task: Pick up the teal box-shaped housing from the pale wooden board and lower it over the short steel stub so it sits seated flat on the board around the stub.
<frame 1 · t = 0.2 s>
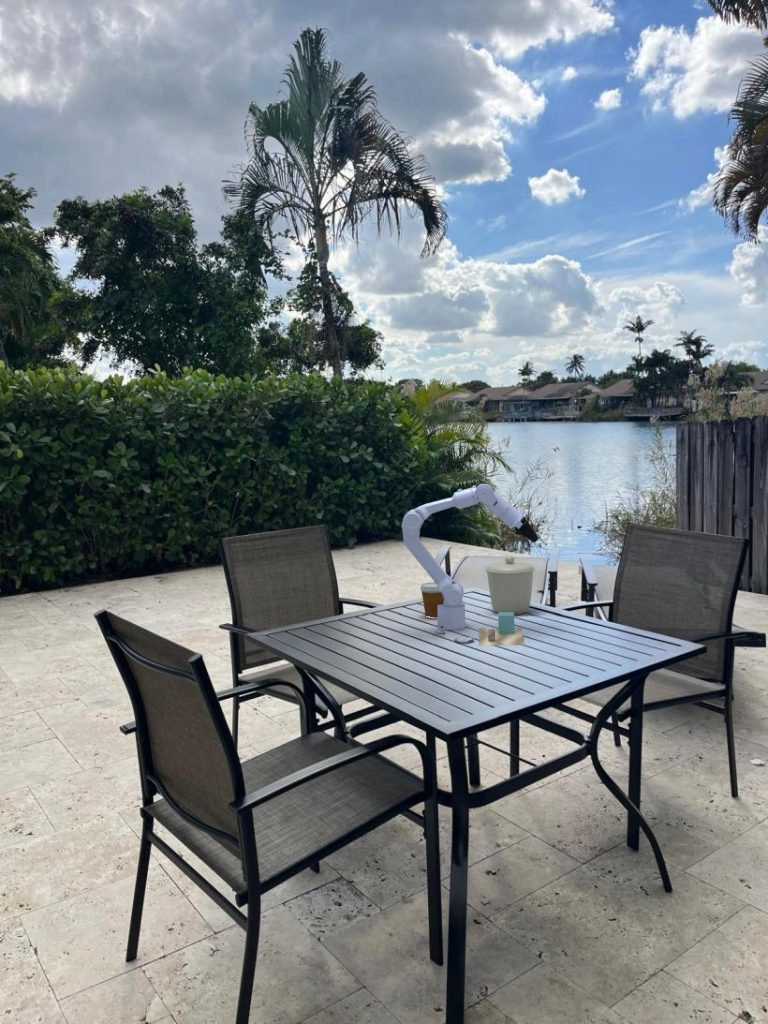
hand: (536, 539, 239), 31 cm above the table, tool tilted 45°, fingers open, 7 cm apart
canister: (511, 612, 269), on the table
housing: (506, 632, 237), point 1 cm above the table, touching base board
disposable coffee cup: (434, 617, 266), on the table
base board: (501, 639, 233), on the table
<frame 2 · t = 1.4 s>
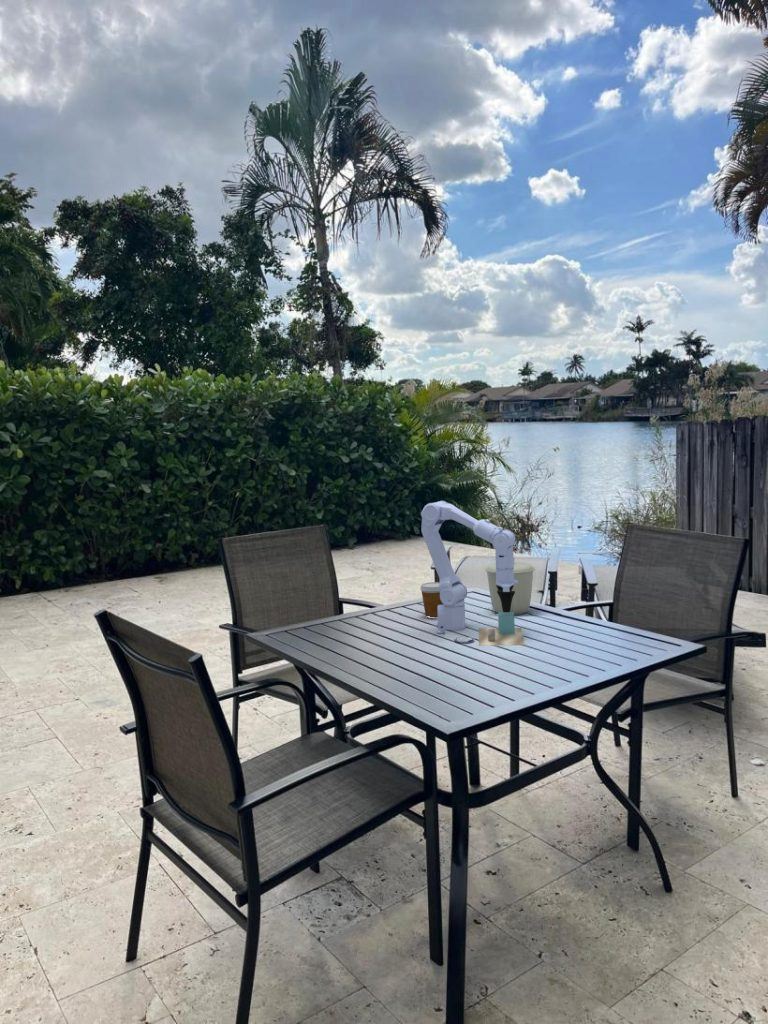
hand: (506, 609, 236), 9 cm above the table, tool pointing down, fingers open, 7 cm apart
nothing on the table moved.
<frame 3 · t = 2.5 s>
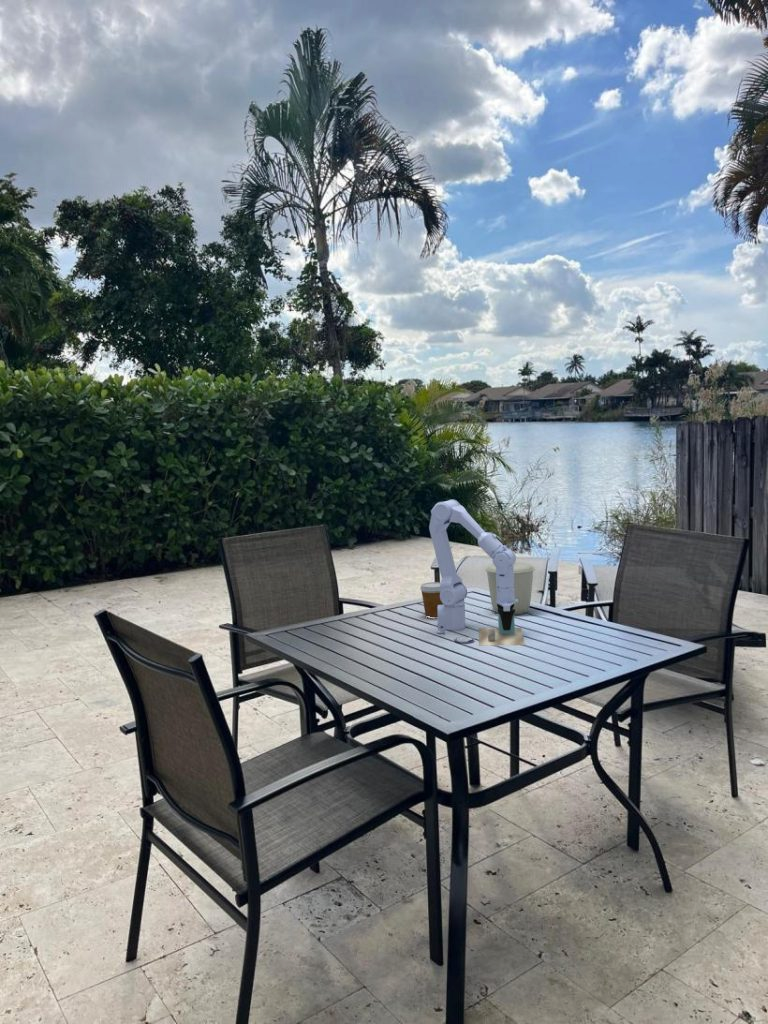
hand: (506, 627, 237), 3 cm above the table, tool pointing down, fingers closed on housing, 5 cm apart
housing: (506, 632, 237), point 1 cm above the table, touching base board, gripper
everything else where it was.
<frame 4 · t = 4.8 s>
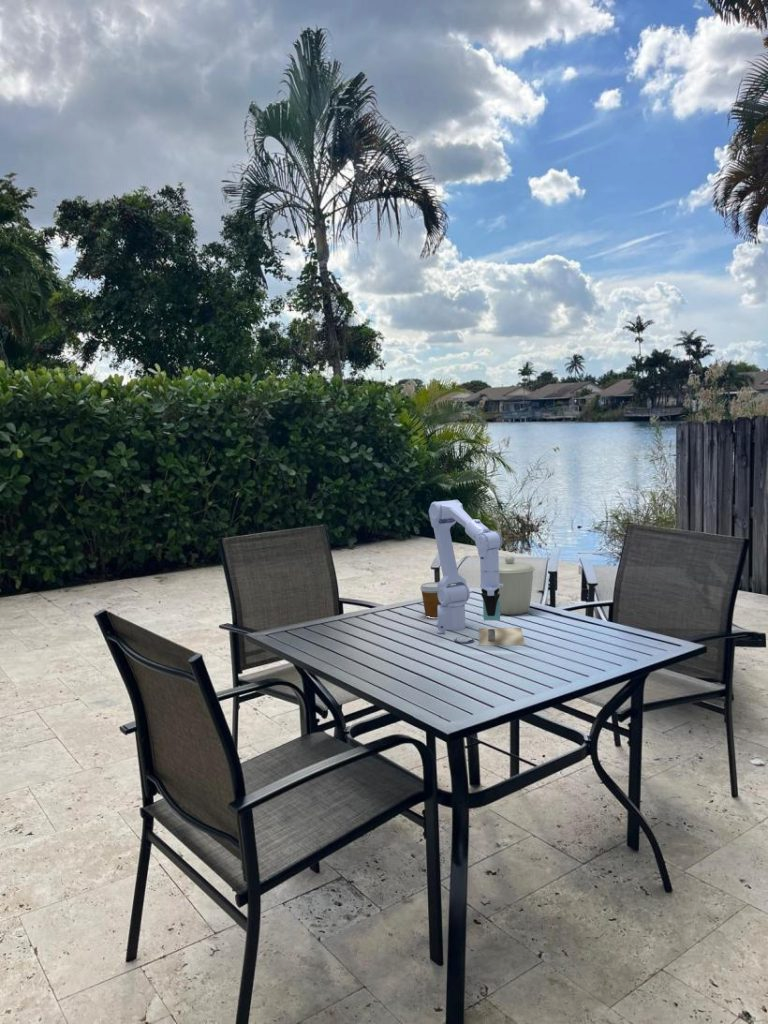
hand: (490, 613, 227), 10 cm above the table, tool pointing down, fingers closed on housing, 5 cm apart
housing: (491, 618, 227), point 8 cm above the table, touching gripper
everything else where it was.
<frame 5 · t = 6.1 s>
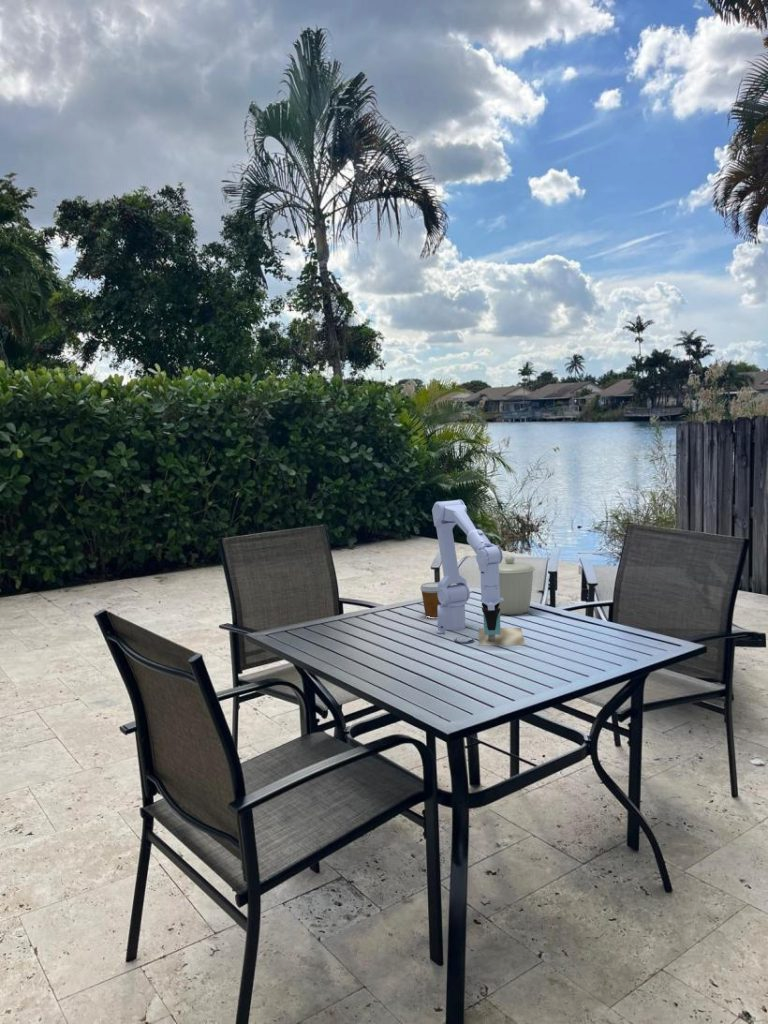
hand: (491, 627, 228), 5 cm above the table, tool pointing down, fingers closed on housing, 5 cm apart
housing: (492, 632, 228), point 4 cm above the table, touching gripper
everything else where it was.
when the fingers open (3 cm above the table, at t = 7.0 s): housing stays where it is, resting on base board.
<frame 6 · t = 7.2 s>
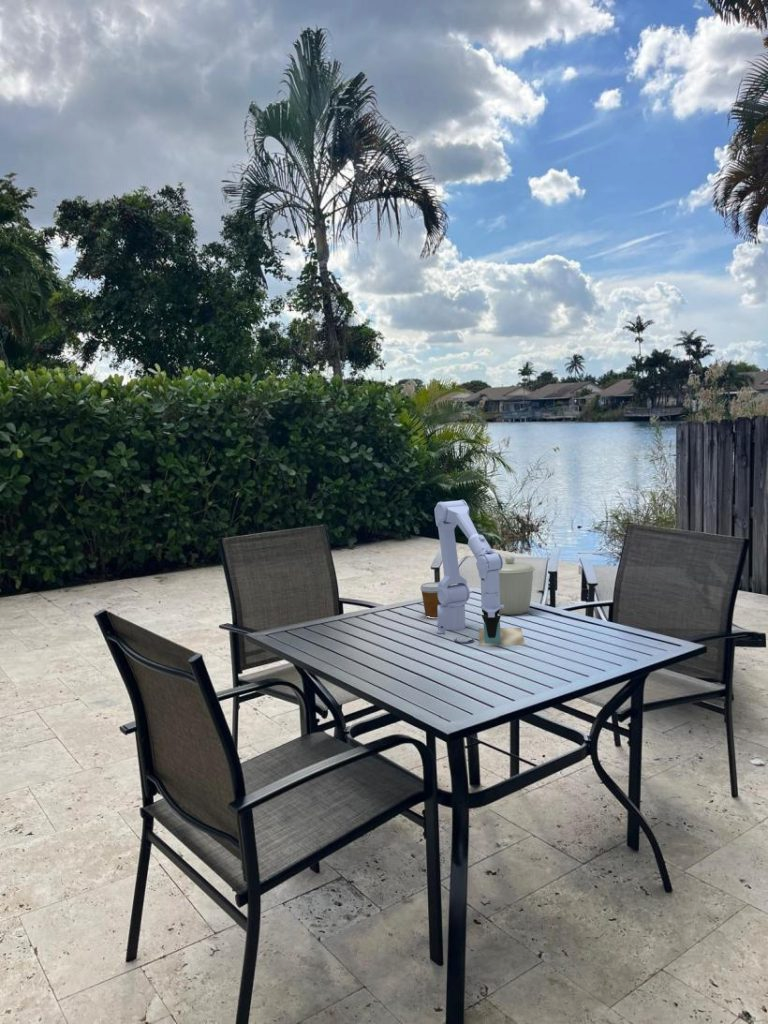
hand: (491, 634, 228), 3 cm above the table, tool pointing down, fingers open, 6 cm apart
housing: (492, 640, 228), point 1 cm above the table, touching base board
everything else where it was.
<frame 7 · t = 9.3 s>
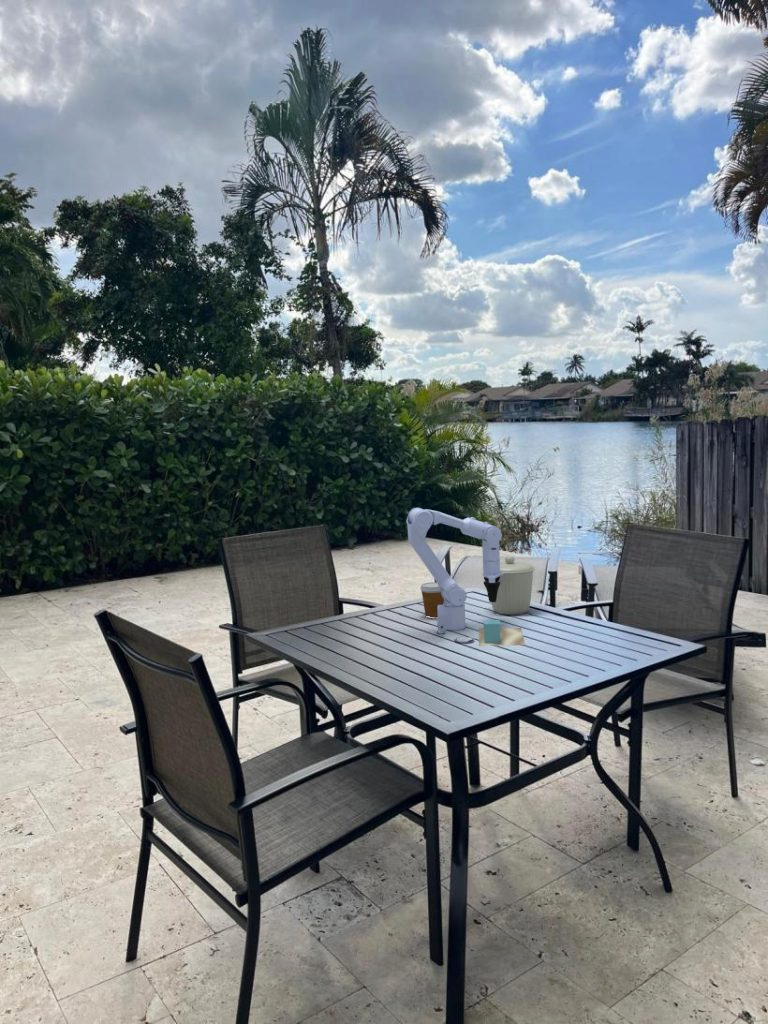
hand: (492, 599, 248), 9 cm above the table, tool pointing down, fingers open, 7 cm apart
nothing on the table moved.
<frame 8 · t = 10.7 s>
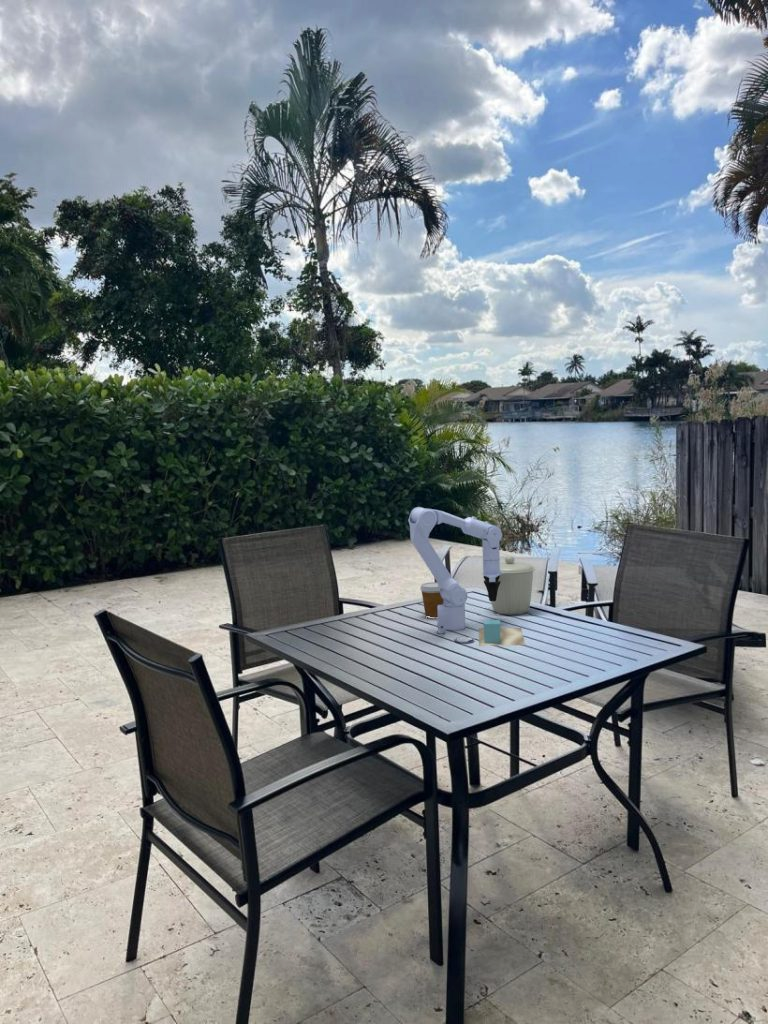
hand: (492, 598, 250), 9 cm above the table, tool pointing down, fingers open, 7 cm apart
nothing on the table moved.
at the end: housing 0.2 cm from the target spot on the base board, point 1.2 cm above the base board's base; housing tilted 0°; the gripper is holding nothing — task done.
